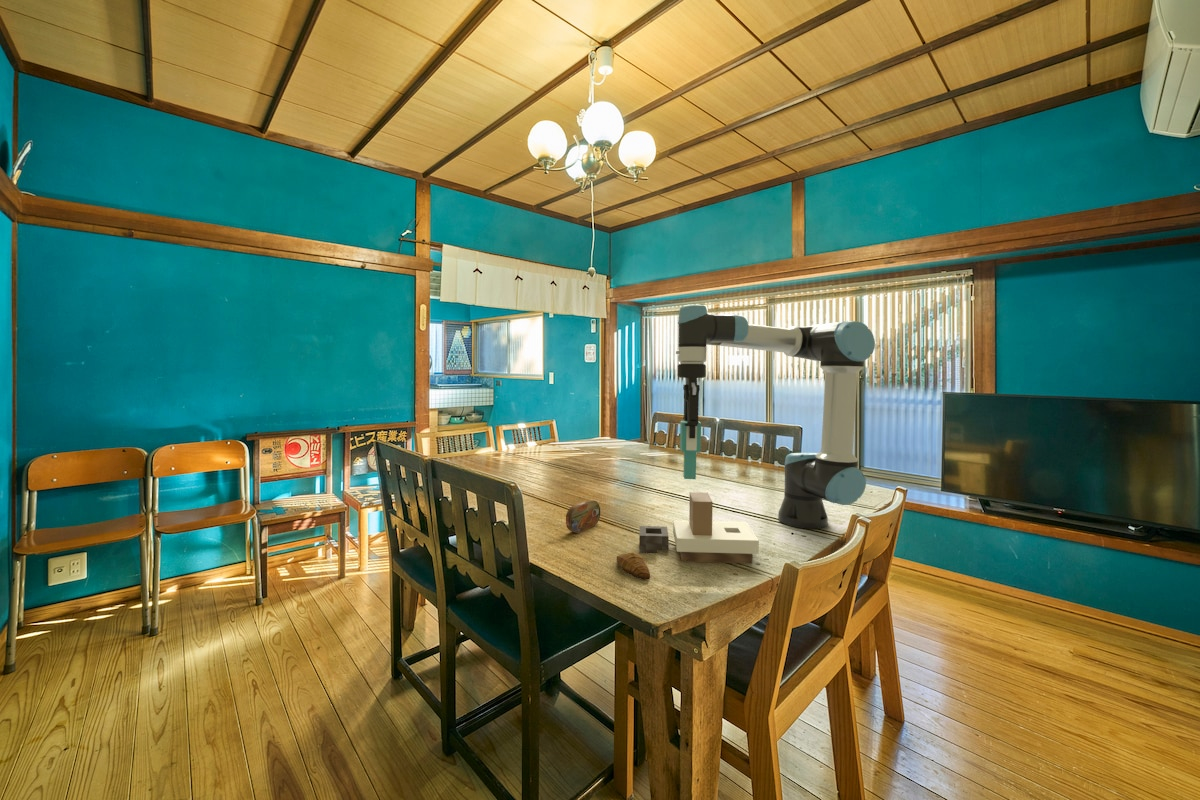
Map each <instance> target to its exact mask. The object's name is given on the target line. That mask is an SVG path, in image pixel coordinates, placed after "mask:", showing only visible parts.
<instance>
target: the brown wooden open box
mask: <svg viewBox="0 0 1200 800" xmlns="http://www.w3.org/2000/svg"><path fill="white" fill-rule="evenodd" d="M679 555H680V561H681V562H689V563H690V562H694V563H697V562H698V563H726V564H727V563H728V564H729V563H732V564H733V563H734V564H753V554H742V553H707V552H679Z"/></svg>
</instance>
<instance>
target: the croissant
mask: <svg viewBox="0 0 1200 800" xmlns="http://www.w3.org/2000/svg"><path fill="white" fill-rule="evenodd" d="M616 563H617V565H618V567H619V568H620V569H621V570H622V571H623V572H624V573H626V574H628V575H631V576H633V577H634V578H636V579H640V580H643V581H648V580H650V579H651V573H650V569H649V567H648V565H647V564H646V562H645V560H644V557H642V556H641V555H640V554H638V553H635V552H629V553H621V554H618V555H617V556H616Z"/></svg>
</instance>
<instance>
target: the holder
mask: <svg viewBox="0 0 1200 800" xmlns="http://www.w3.org/2000/svg"><path fill="white" fill-rule="evenodd" d="M638 533H639V540H638V541H639V542H638V543H639V545H638V546H639V552H638V553H639V554H653V555H654V554H658V553H659V552H658V551H669V543H670V542H669V541H670V540H669V537H670V536H669V531H668V527H667V526H656V525H655V526H654V525H652V526H651V525H650V526H648V525H639V532H638Z"/></svg>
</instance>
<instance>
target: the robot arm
mask: <svg viewBox="0 0 1200 800" xmlns="http://www.w3.org/2000/svg"><path fill="white" fill-rule="evenodd" d="M677 321H678V322H677V324H678V325H677V326H678V340H677V341H678V344H677V345H678V346H677V347H678V348H677V349H678V350H676V351H675V354H676V355H677V361H678V362H679V363H678V364H677V377H678V378H681V379H685V384H683V387H682V388H683V421H687V424H685V426H687V430H686V450H697V425H698V423H699V422H700V421H699V412H700V411H699V407H700V404H699V403H700V402H699V401H700V400H699V399H700V390H701V389H700V384H698V379H704V378H706V376H707V374H706V373H707V365H706V364H705V363H706V362H707V349H708V347H707V345H709V346H719V347H728V348H729V347H730V348H739V349H748V350H757V351H758V350H759V351H768V352H776V353H784V355H786V356H787V357H793V358H794V357H795V358H800V359H806V360H809V361H815V362H820V363H819V365H820V366H819V367H820V368H821V370H823V372H824V373H825V374H824V375H825V377H824V393H823V408H822V410H823V412H822V428H821V446H820V447H821V448H820V451H819V452H793V453H788V454H786V456H785V461H784V496H783V498H782V499H783V500H782V502H781V505H780V507H779V510H778V516H777V517H778V521H779V522H780V523H782V524H784V525H787V526H790V527H794V528H799V529H809V530H810V529H811V530H813V529H815V530H817V529H823V528H826V527H828V523H829V522H828V520H829V517H828V515H827V511H826V508H825V504H824V502H823V500H826V501H827V502H829V503H832V504H837V505H842V506H848V505H849V506H850V505H852V504H854V503H855V502H857V501H858V500H859V499H860V498H861V497H862V496H863V494H864V492H865V490H866V487H867V479H866V478H867V477H866V475H865V474H864V472H863V471H862V470H861V469H860V468H859V459H858V458H857V457H856V456H855V454H854V439H855V436H854V435H855V421H856V404H857V403H856V402H857V391H858V390H857V387H858V385H857V384H858V373H859V372H861V371H862V370H863V369H864V366H865V361H866V360H868V359H869V358H871V355H872V354H873V353H874V351H875V345H876V343H875V336H874V334H873V332H872V330H871V329H869V327H868V326H867V325H866V324H865V323H863V322H861V321H856V320H845V321H844V320H843V321H837V322H836V321H835V322H831V323H830V322H829V323H821V324H815V325H806V326H797V325H796V326H795V325H794V326H793V325H792V326H789V327H788V328H785V327H777V326H767V325H760V324H758V325H757V324H750V323H749V321H748V319H747V318H746V317H745V316H744V315H739V314H734V313H733V314H722V313H721V314H720V313H719V314H718V313H709V312H708V307H707V305H704V304H703V305H702V304H686V305H683V306H681V307H680V308H679V311H678V320H677Z"/></svg>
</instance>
